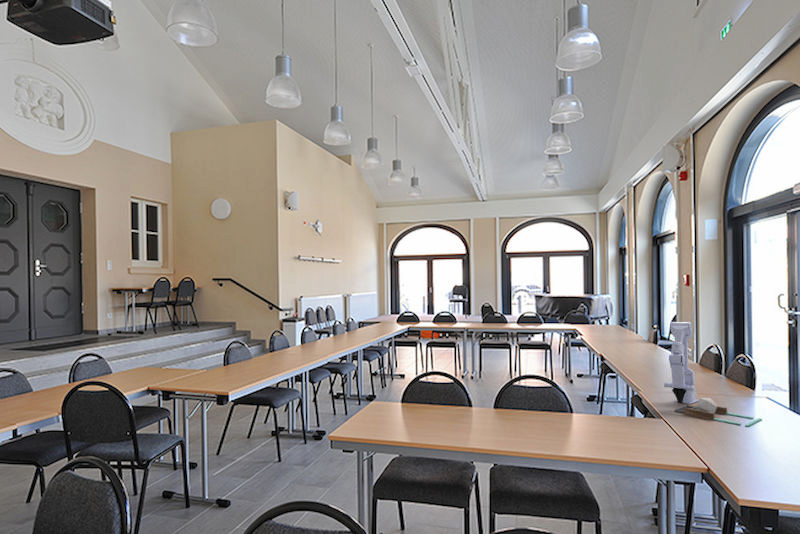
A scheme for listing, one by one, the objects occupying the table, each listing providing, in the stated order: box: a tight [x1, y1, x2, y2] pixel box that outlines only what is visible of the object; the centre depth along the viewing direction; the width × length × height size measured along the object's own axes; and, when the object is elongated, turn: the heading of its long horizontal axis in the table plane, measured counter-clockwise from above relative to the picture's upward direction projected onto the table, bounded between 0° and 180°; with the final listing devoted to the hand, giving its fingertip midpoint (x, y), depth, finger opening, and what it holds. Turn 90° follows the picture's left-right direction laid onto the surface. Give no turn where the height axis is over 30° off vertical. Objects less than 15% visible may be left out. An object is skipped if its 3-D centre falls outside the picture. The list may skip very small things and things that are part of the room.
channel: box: [684, 405, 728, 421], centre depth 228 cm, size 15×13×3 cm
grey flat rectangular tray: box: [674, 404, 698, 414], centre depth 236 cm, size 12×5×1 cm, turn 122°
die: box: [695, 397, 718, 414], centre depth 227 cm, size 8×9×10 cm
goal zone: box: [712, 412, 763, 428], centre depth 216 cm, size 15×14×1 cm
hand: (680, 402), depth 238 cm, fingers closed
